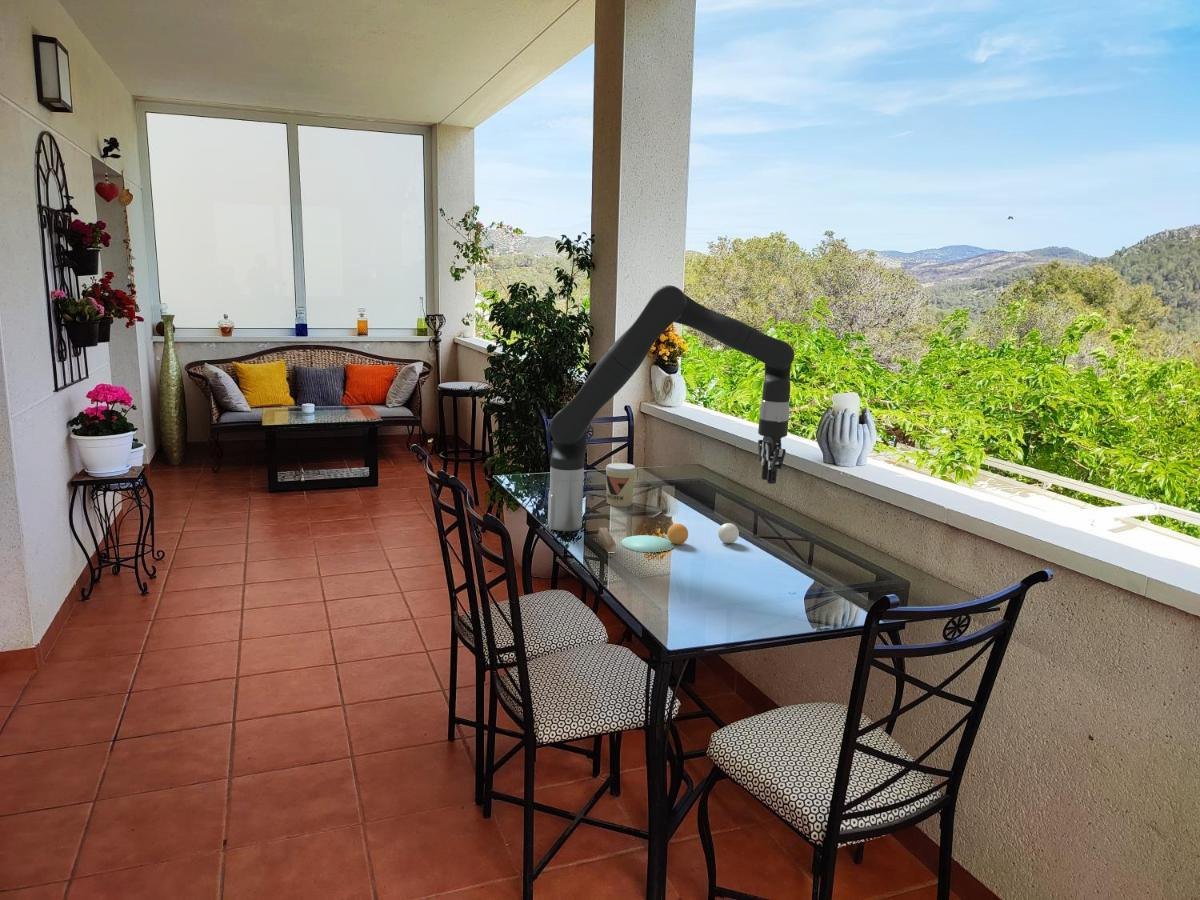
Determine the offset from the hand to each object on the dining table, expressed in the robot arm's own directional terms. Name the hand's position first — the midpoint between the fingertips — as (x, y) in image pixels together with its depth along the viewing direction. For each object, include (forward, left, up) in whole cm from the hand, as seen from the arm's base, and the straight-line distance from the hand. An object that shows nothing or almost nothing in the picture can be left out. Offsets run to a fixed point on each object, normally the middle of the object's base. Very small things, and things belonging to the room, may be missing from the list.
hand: (768, 481), depth 210 cm
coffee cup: (-32, +40, -17) cm, 54 cm away
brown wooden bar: (-43, 0, -17) cm, 46 cm away
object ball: (-24, 0, -14) cm, 28 cm away
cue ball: (-10, 0, -14) cm, 18 cm away
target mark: (-32, 0, -17) cm, 36 cm away
